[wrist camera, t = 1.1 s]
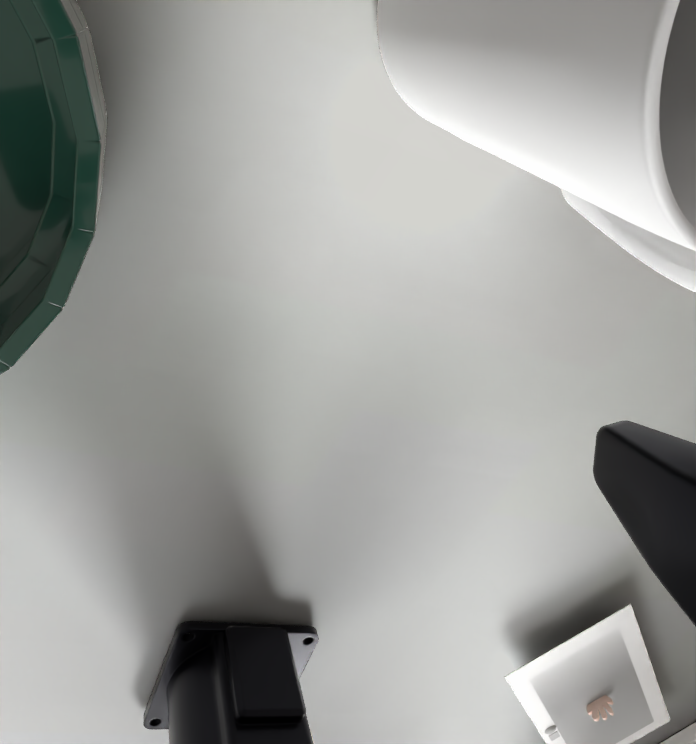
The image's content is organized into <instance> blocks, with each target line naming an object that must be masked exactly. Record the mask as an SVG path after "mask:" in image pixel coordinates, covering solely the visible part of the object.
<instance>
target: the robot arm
mask: <svg viewBox="0 0 696 744" xmlns="http://www.w3.org/2000/svg"><path fill="white" fill-rule="evenodd" d="M593 473H594V478H595V481H596V483H597V485H598V487H599V489H600V490H601V492H602V494H603V495H604V497H605V498H606V500H607V501H608V503H609V505H610V506H611V508H612V509H613V511H614V512H615V514H616V516H617V517H618V519H619V520H620V522H621V523H622V525H623V527H624V528H625V530H626V531H627V533H628V534H629V536H630V538H631V539H632V541H633V542H634V544H635V546H636V547H637V549H638V550H639V552H640V553H641V555H642V557H643V558H644V559H645V561H646V562H647V564H648V565H649V567H650V568H651V570H652V571H653V573H654V574H655V575H656V576H657V578H658V579H659V580H660V582H661V583H662V584H663V586H664V587H665V588H666V590H667V591H668V592H669V593H670V595H671V596H672V597H673V598H674V600H675V601H676V602H677V603H678V605H679V606H680V607H681V609H682V610H683V611H684V612H685V614H686V615H687V616H688V617H689V619H690V620H691V621H692V623H693V624H694V625H695V626H696V444H695V443H692V442H689V441H686V440H683V439H680V438H677V437H674V436H672V435H669V434H666V433H663V432H660V431H657V430H654V429H651V428H648V427H645V426H642V425H639V424H636V423H633V422H630V421H619V422H616V423H612V424H609V425H606V426H603V427H601V428H600V429H599V431H598V432H597V436H596V446H595V455H594V465H593ZM187 633H189V634H187ZM318 639H319V638H318V634H317V631H316V629H315V628H314V627H311V626H292V625H269V624H245V623H221V622H197V621H189V622H184V623H182V624H180V625H179V626H178V627H177V629H176V631H175V634H174V636H173V639H172V641H171V644H170V647H169V649H168V652H167V655H166V657H165V660H164V663H163V665H162V668H161V670H160V673H159V676H158V678H157V681H156V684H155V686H154V689H153V691H152V694H151V697H150V699H149V702H148V705H147V707H146V710H145V713H144V726H145V728H147V729H169V744H313V741H312V736H311V732H310V728H309V724H308V720H307V716H306V708H305V704H304V699H303V695H302V691H301V687H300V683H299V678H300V676H301V674H302V672H303V670H304V668H305V666H306V664H307V662H308V660H309V658H310V656H311V654H312V652H313V650H314V648H315V646H316V644H317V642H318Z"/></svg>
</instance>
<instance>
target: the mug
mask: <svg viewBox="0 0 696 744" xmlns="http://www.w3.org/2000/svg"><path fill="white" fill-rule="evenodd" d="M377 36H378V43H379V49H380V53H381V57H382V61H383V64H384V67H385V69H386V72H387V74H388V76H389V78H390V81H391V82H392V84H393V86H394V88H395V89H396V91H397V92H398V94H399V95H400V96H401V98H402V99H403V100H404V101H405V103H406V104H407V105H408V106H409V107H410V108H411V109H412V110H414V111H415V112H416V113H417V114H419V115H420V116H421V117H423V118H424V119H426V120H428V121H429V122H431V123H433V124H435V125H437V126H439V127H441V128H443V129H445V130H447V131H449V132H450V133H452V134H454V135H456V136H457V137H459V138H461V139H462V140H464V141H466V142H468V143H470V144H473V145H475V146H477V147H479V148H481V149H483V150H485V151H487V152H489V153H491V154H493V155H495V156H497V157H499V158H501V159H504V160H506V161H508V162H510V163H512V164H514V165H516V166H518V167H520V168H522V169H524V170H526V171H528V172H530V173H532V174H534V175H536V176H538V177H540V178H542V179H544V180H546V181H548V182H550V183H552V184H554V185H556V186H558V187H560V188H561V191H562V194H563V196H564V198H565V200H566V202H567V203H568V204H570V205H571V206H572V207H573V208H574V209H575V210H576V211H577V212H579V213H580V214H581V215H582V216H584V217H585V218H586V219H587V220H588V221H590V222H591V223H592V224H593V225H594V226H596V227H597V228H598V229H599V230H601V231H602V232H603V233H604V234H606V235H607V236H608V237H609V238H611V239H612V240H613V241H614V242H616V243H617V244H618V245H619V246H621V247H622V248H623V249H625V250H626V251H627V252H629V253H630V254H631V255H633V256H634V257H636V258H637V259H639V260H640V261H641V262H643V263H644V264H646V265H647V266H649V267H650V268H652V269H653V270H655V271H657V272H658V273H660V274H662V275H663V276H665V277H667V278H668V279H670V280H672V281H674V282H675V283H677V284H679V285H681V286H683V287H685V288H687V289H689V290H691V291H694V292H696V0H378V5H377Z"/></svg>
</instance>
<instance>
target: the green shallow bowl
mask: <svg viewBox="0 0 696 744" xmlns="http://www.w3.org/2000/svg"><path fill="white" fill-rule="evenodd" d="M87 27H88V23H87V21H86V19H85V17H84V15H83V13H82V11H81V9H80V7H79V5H78V3H77V1H76V0H0V374H2V373H4V372H5V371H7V370H9V368H10V367H12V366H13V365H14V364H15V363H16V362H17V361H18V360H19V359H20V357H21V356H22V355H23V354H24V353H25V352H26V351H27V350H28V348H29V347H30V346H31V345H32V344H33V343H34V342H35V341H36V339H37V338H38V337H39V336H40V335H41V334H42V333H43V331H44V330H45V329H46V328H47V327H48V326H49V325H50V324H51V322H52V321H53V320H54V319H55V318H56V317H57V316H58V315H59V313H60V312H61V311H62V309H63V307H65V305H66V302H67V300H68V297H69V295H70V293H71V290H72V288H73V285H74V283H75V281H76V278H77V276H78V273H79V271H80V269H81V266H82V264H83V261H84V259H85V257H86V254H87V252H88V249H89V247H90V245H91V242H92V240H93V237H94V234H95V230H96V224H97V218H98V212H99V205H100V199H101V193H102V186H103V172H104V158H105V145H106V131H107V115H106V112H107V108H106V104H105V99H104V94H103V90H102V85H101V80H100V75H99V71H98V66H97V61H96V57H95V52H94V47H93V42H92V38H91V33H90V30H89V29H88V28H87Z"/></svg>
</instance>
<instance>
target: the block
mask: <svg viewBox="0 0 696 744" xmlns="http://www.w3.org/2000/svg"><path fill="white" fill-rule="evenodd" d="M660 744H696V722H695V723H693V724H692V725H690V726H688V727H687V728H685V729H683V730H682V731H680V732H678V733H677V734H675V735H673V736H672V737H670V738H668V739H667V740H665V741H663V742H661V743H660Z"/></svg>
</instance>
